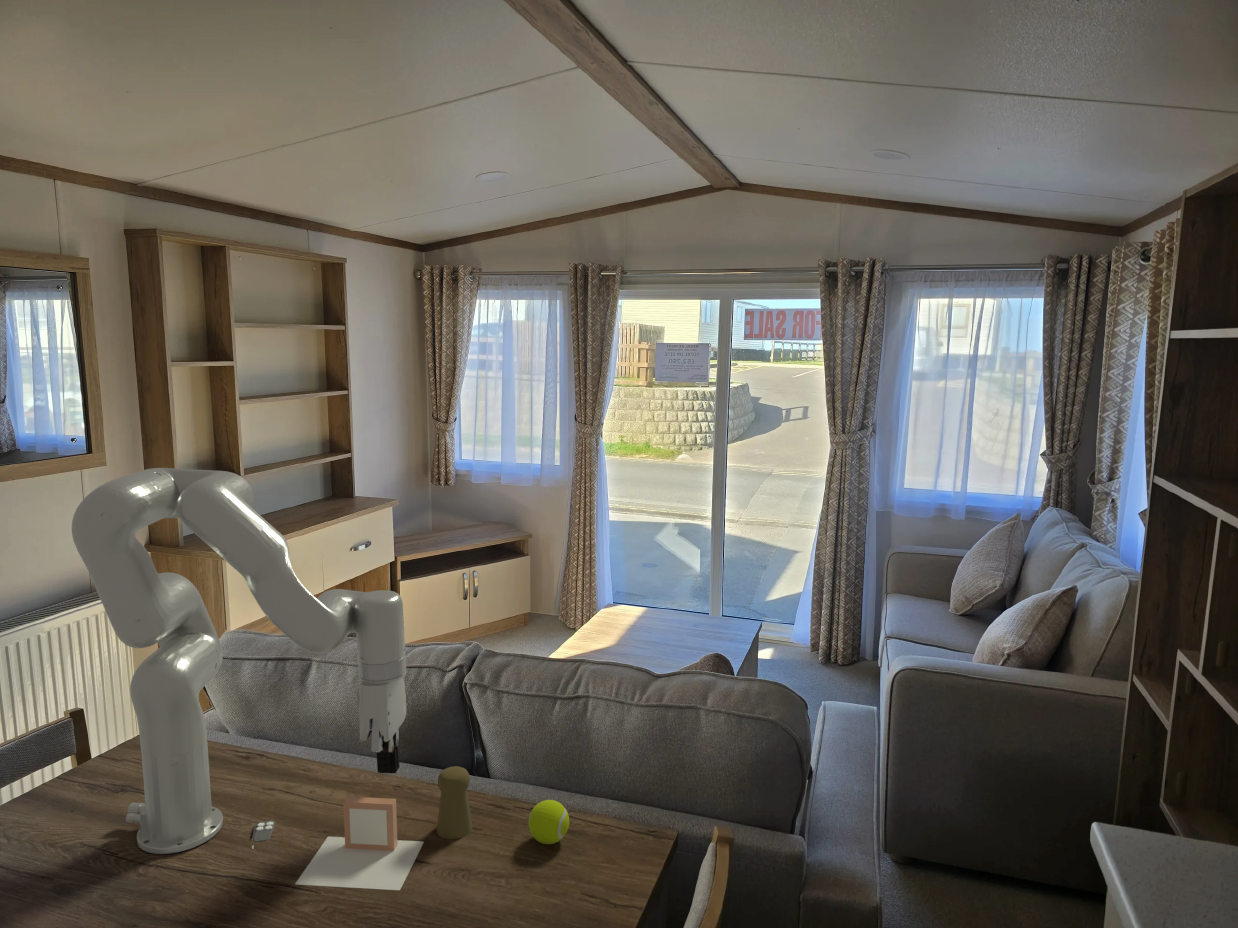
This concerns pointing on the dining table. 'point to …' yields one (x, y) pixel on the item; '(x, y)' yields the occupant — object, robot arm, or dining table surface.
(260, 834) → the key chain
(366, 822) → the tile
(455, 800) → the cork
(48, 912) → the dining table surface
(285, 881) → the dining table surface
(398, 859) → the mat
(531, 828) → the tennis ball
